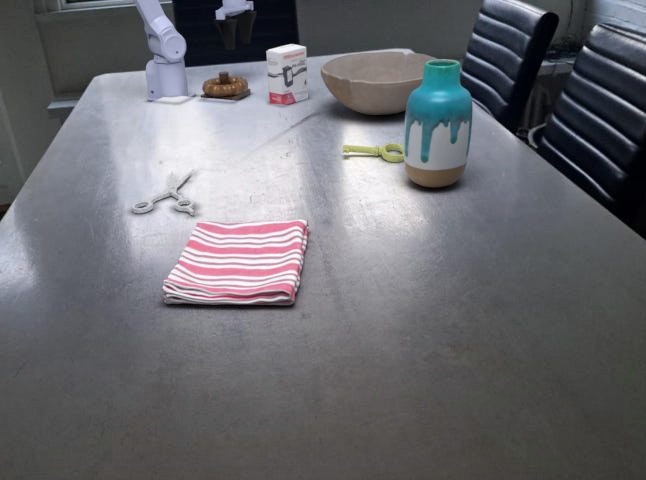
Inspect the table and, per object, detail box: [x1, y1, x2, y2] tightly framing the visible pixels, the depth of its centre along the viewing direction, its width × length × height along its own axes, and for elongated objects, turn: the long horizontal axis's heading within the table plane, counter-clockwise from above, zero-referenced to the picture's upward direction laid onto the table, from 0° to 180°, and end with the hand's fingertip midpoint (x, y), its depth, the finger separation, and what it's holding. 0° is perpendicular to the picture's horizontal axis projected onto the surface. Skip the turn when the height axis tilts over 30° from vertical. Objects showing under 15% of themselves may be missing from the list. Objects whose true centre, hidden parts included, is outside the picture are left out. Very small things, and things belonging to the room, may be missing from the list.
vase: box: [403, 58, 473, 188], centre depth 110 cm, size 11×11×19 cm
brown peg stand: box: [199, 71, 252, 101], centre depth 168 cm, size 9×9×6 cm
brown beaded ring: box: [201, 75, 249, 97], centre depth 168 cm, size 11×11×3 cm
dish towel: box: [161, 218, 310, 306], centre depth 93 cm, size 17×23×4 cm
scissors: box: [131, 170, 195, 216], centre depth 117 cm, size 11×1×20 cm
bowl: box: [320, 51, 438, 116], centre depth 149 cm, size 26×26×10 cm
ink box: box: [265, 43, 309, 106], centre depth 160 cm, size 8×5×12 cm, turn 134°
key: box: [342, 142, 404, 163], centre depth 127 cm, size 7×12×2 cm, turn 102°
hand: (238, 46), depth 172 cm, fingers open, 7 cm apart
